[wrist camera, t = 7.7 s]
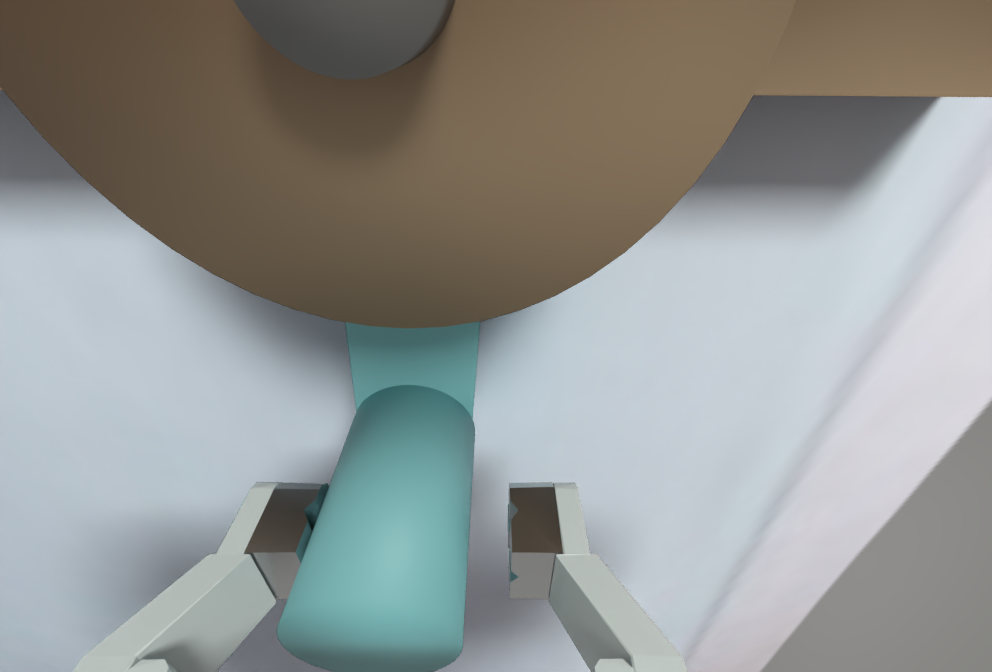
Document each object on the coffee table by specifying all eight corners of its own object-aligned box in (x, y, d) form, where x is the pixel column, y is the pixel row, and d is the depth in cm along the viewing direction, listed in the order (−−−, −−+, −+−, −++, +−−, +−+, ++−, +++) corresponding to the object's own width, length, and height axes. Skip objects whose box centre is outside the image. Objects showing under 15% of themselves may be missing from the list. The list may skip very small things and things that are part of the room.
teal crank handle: (358, 237, 11) (203, 472, 5) (489, 248, 11) (478, 488, 5) (375, 415, 14) (294, 674, 9) (474, 421, 15) (458, 680, 9)
